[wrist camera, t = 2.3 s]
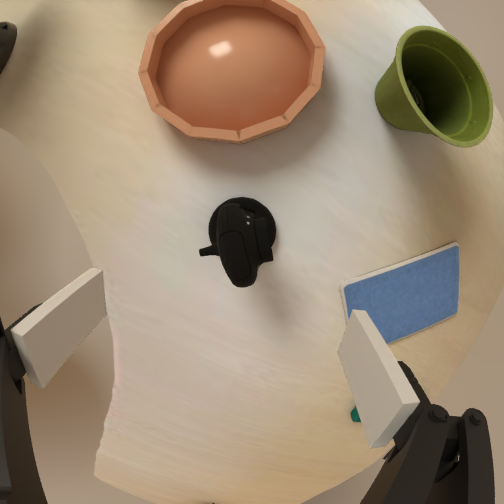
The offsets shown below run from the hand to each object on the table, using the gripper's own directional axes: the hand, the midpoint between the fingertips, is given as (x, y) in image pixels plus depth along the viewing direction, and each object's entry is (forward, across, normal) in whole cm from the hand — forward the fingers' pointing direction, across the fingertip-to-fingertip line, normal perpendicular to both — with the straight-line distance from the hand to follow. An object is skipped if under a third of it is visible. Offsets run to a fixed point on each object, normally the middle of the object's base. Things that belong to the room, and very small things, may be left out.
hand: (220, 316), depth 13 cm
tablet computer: (+20, +24, -6) cm, 31 cm away
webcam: (+19, 0, 0) cm, 19 cm away
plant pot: (+19, +16, +19) cm, 31 cm away
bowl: (+19, -4, +19) cm, 27 cm away
